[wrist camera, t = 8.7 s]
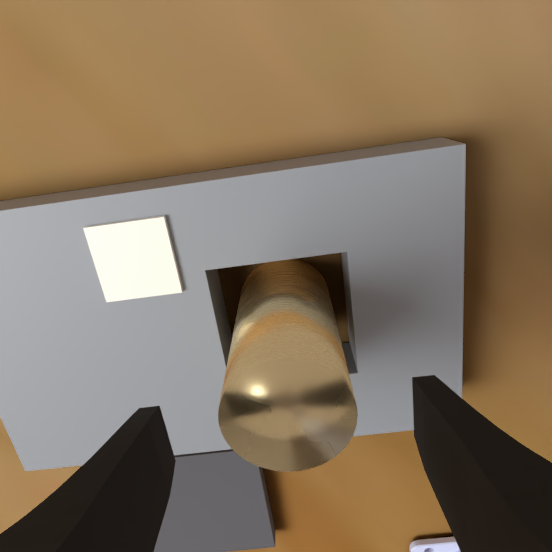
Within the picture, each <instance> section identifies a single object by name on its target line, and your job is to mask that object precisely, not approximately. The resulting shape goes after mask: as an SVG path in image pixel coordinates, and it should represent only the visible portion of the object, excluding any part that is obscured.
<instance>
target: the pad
mask: <svg viewBox="0 0 552 552" xmlns="http://www.w3.org/2000/svg"><path fill="white" fill-rule="evenodd" d="M174 457H175V460H176V462H175V468H174V475H173V481H172V487H171V493H170V497H169V501H168V504H167V508H166V511H165V515H164V518H163V522H162V525H161V528H160V532H159V535H158V538H157V542H156V545H155V548H154V552H227V551H237V550H248V549H259V548H270V547H275V527H274V522H273V517H272V512H271V507H270V502H269V497H268V492H267V487H266V482H265V477H264V472H263V468H262V467H259V466H256V465H254V464H252V463H250V462H248V461H246V460H245V459H243V458H242V457H240V456H239V455H238V454H237V453H236V452H234V451H233V450H232V449H229V450H220V451H211V452H201V453H192V454H182V455H174Z"/></svg>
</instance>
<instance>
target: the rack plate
mask: <svg viewBox="0 0 552 552" xmlns="http://www.w3.org/2000/svg"><path fill="white" fill-rule="evenodd" d="M465 172H466V144H464V143H461V142H457V141H454V140H450V139H447V138H443V137H439V138H432V139H425V140H418V141H411V142H404V143H397V144H390V145H383V146H376V147H369V148H363V149H356V150H349V151H342V152H335V153H328V154H321V155H314V156H307V157H300V158H294V159H287V160H280V161H273V162H266V163H259V164H252V165H245V166H238V167H231V168H225V169H218V170H211V171H204V172H197V173H190V174H183V175H176V176H169V177H162V178H156V179H149V180H142V181H135V182H128V183H121V184H114V185H107V186H100V187H93V188H86V189H80V190H73V191H66V192H59V193H52V194H45V195H38V196H31V197H24V198H17V199H11V200H4V201H0V417H1V419H2V422H3V424H4V426H5V428H6V430H7V432H8V435H9V437H10V439H11V441H12V443H13V445H14V448H15V450H16V452H17V454H18V456H19V458H20V461H21V463H22V465H23V467H24V469H25V471H32V470H42V469H51V468H60V467H70V466H79V465H84V464H85V463H86V462H87V461H88V460H89V459H90V458H91V457H92V456H93V455H94V454H95V453H96V452H97V451H98V450H99V449H100V448H101V447H102V446H103V445H104V444H105V443H106V442H107V440H108V439H109V438H110V437H111V436H112V435H113V434H114V433H115V432H116V431H117V430H118V429H119V428H120V427H121V426H122V425H123V424H124V423H125V422H126V421H127V420H128V419H129V418H130V417H131V416H132V415H133V414H134V413H135V412H136V411H137V410H138V409H139V408H144V407H153V406H160V409H161V412H162V416H163V419H164V422H165V426H166V429H167V433H168V436H169V440H170V443H171V446H172V450H173V453H174V455H182V454H192V453H201V452H211V451H220V450H229V449H231V447H230V446H229V445H228V444H227V442H226V440H225V439H224V437H223V435H222V432H221V430H220V426H219V421H218V410H219V404H220V398H221V393H222V388H223V383H224V378H225V373H226V367H227V362H228V357H229V352H230V347H231V342H232V335H231V330H230V325H229V320H228V315H227V310H226V306H225V301H224V296H223V291H222V286H221V281H220V276H219V271H218V269H220V268H227V267H235V266H242V265H250V264H258V263H265V262H273V261H281V260H288V259H296V258H303V257H311V256H319V255H326V254H334V253H341V258H342V269H343V279H344V290H345V301H346V311H347V322H348V333H349V342H347V343H341V344H342V348H343V352H344V356H345V360H346V364H347V368H348V372H349V376H350V380H351V385H352V389H353V393H354V397H355V401H356V405H357V412H358V418H357V425H356V429H355V432H354V434H353V436H361V435H370V434H380V433H389V432H398V431H408V430H414V416H413V388H412V377H420V376H429V375H435V376H436V377H438V378H439V379H440V380H441V381H442V382H444V383H445V384H446V385H447V386H448V387H449V388H450V389H452V390H453V391H454V392H455V393H456V394H457V395H458V396H460V397H461V398H462V369H463V303H464V237H465Z"/></svg>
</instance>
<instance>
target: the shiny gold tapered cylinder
mask: <svg viewBox="0 0 552 552" xmlns="http://www.w3.org/2000/svg"><path fill="white" fill-rule="evenodd" d="M357 418H358V412H357V405H356V401H355V397H354V393H353V389H352V385H351V380H350V376H349V372H348V368H347V364H346V360H345V356H344V352H343V348H342V344H341V340H340V335H339V331H338V327H337V323H336V319H335V315H334V311H333V307H332V303H331V299H330V294H329V290H328V286H327V284H326V282H325V280H324V278H323V276H322V275H321V274H320V273H319V272H318V271H317V270H316V269H315V268H314V267H313V266H311V265H310V264H308V263H306V262H304V261H301V260H298V259H288V260H281V261H273V262H265V263H262V264H261V265H259V266H258V267H256V268H255V269H254V270H253V271H252V272H251V273H250V274H249V275H248V277H247V278H246V280H245V282H244V284H243V286H242V290H241V295H240V300H239V305H238V310H237V316H236V321H235V326H234V331H233V336H232V342H231V347H230V352H229V357H228V362H227V367H226V373H225V378H224V383H223V388H222V393H221V398H220V404H219V410H218V421H219V426H220V430H221V432H222V435H223V437H224V439H225V440H226V442H227V444H228V445H229V446H230V447H231V449H232V450H233V451H234V452H236V453H237V454H238V455H239V456H240V457H242V458H243V459H245V460H246V461H248V462H250V463H252V464H254V465H256V466H259V467H262V468H265V469H269V470H274V471H301V470H306V469H310V468H313V467H317V466H319V465H321V464H324V463H326V462H327V461H329V460H331V459H332V458H334V457H335V456H336V455H338V454H339V453H340V452H341V451H342V450H343V449H344V448H345V447H346V445H347V444H348V443H349V441H350V440H351V438H352V436H353V434H354V432H355V429H356V425H357Z"/></svg>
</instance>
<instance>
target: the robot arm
mask: <svg viewBox="0 0 552 552" xmlns="http://www.w3.org/2000/svg"><path fill="white" fill-rule="evenodd" d="M412 388H413V416H414V437H415V440H416V443H417V447H418V450H419V453H420V457H421V460H422V463H423V466H424V469H425V472H426V474H427V476H428V479H429V481H430V483H431V486H432V488H433V490H434V492H435V495H436V497H437V499H438V502H439V504H440V506H441V508H442V511H443V513H444V515H445V517H446V520H447V522H448V524H449V526H450V529H451V531H452V533H453V535H454V537H444V538H433V539H422V540H415V541H413V542H412V543H411V544H410V547H409V548H410V552H552V463H551V462H550V461H548V460H546V459H545V458H543V457H541V456H540V455H538V454H536V453H535V452H533V451H531V450H530V449H528V448H527V447H525V446H524V445H522V444H521V443H519V442H518V441H516V440H515V439H514V438H512V437H511V436H509V435H508V434H506V433H505V432H504V431H502V430H501V429H499V428H498V427H497V426H495V425H494V424H493V423H492V422H490V421H489V420H488V419H487V418H485V417H484V416H483V415H481V414H480V413H479V412H478V411H476V410H475V409H474V408H473V407H471V406H470V405H469V404H468V403H467V402H466V401H464V400H463V399H462V398H461V397H460V396H458V395H457V394H456V393H455V392H454V391H453V390H452V389H450V388H449V387H448V386H447V385H446V384H445V383H444V382H442V381H441V380H440V379H439V378H438V377H436V376H435V375H429V376H420V377H412ZM175 462H176V460H175V457H174V453H173V450H172V446H171V443H170V440H169V436H168V433H167V429H166V426H165V422H164V419H163V416H162V412H161V409H160V406H153V407H144V408H139V409H138V410H137V411H136V412H135V413H134V414H133V415H132V416H131V417H130V418H129V419H128V420H127V421H126V422H125V423H124V424H123V425H122V426H121V427H120V428H119V429H118V430H117V431H116V432H115V433H114V434H113V435H112V436H111V437H110V438H109V439H108V440H107V442H106V443H105V444H104V445H103V446H102V447H101V448H100V449H99V450H98V451H97V452H96V453H95V454H94V455H93V456H92V457H91V458H90V459H89V460H88V461H87V462H86V463H85V464H84V465H83V466H81V467H80V468H79V469H78V470H77V471H76V472H75V473H74V474H73V475H72V476H71V477H70V478H69V479H68V480H67V481H66V482H65V483H63V484H62V485H61V486H60V487H59V488H58V489H57V490H56V491H55V492H53V493H52V494H51V495H50V496H49V497H48V498H46V499H45V500H44V501H43V502H42V503H40V504H39V505H38V506H37V507H35V508H34V509H33V510H32V511H31V512H29V513H28V514H27V515H26V516H24V517H23V518H22V519H20V520H19V521H18V522H16V523H15V524H14V525H12V526H11V527H9V528H8V529H7V530H5V531H4V532H3V533H1V534H0V552H154V548H155V545H156V542H157V538H158V535H159V532H160V528H161V525H162V522H163V518H164V515H165V511H166V508H167V504H168V501H169V497H170V493H171V487H172V481H173V475H174V468H175Z"/></svg>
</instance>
